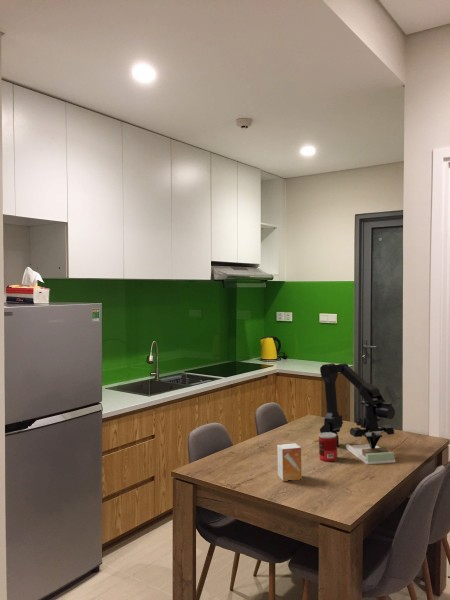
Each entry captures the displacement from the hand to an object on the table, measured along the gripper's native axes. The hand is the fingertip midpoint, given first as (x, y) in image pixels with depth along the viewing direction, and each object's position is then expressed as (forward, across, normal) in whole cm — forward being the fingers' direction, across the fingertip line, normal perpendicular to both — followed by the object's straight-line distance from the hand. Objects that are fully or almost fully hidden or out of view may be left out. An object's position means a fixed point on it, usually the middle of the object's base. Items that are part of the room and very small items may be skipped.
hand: (372, 450), depth 226 cm
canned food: (+3, +20, -2) cm, 20 cm away
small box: (+3, +43, +17) cm, 46 cm away
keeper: (+2, 0, +3) cm, 3 cm away
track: (+3, 0, -3) cm, 5 cm away
